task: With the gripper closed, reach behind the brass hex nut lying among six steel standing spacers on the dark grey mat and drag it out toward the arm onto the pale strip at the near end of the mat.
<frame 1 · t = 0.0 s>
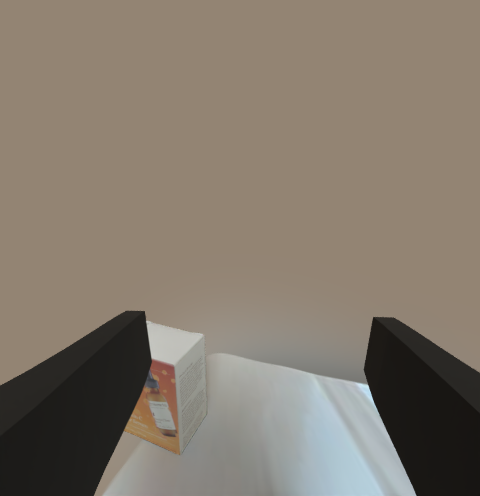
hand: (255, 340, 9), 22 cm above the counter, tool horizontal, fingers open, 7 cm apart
small box: (164, 423, 32), on the counter
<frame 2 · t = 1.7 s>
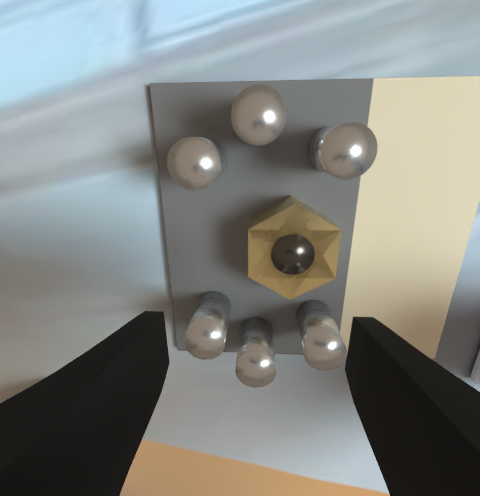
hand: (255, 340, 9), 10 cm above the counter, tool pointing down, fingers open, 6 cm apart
brass nut: (288, 240, 18), resting on spacer mat
standing spacers: (312, 240, 18), resting on spacer mat
spacer mat: (311, 238, 19), on the counter
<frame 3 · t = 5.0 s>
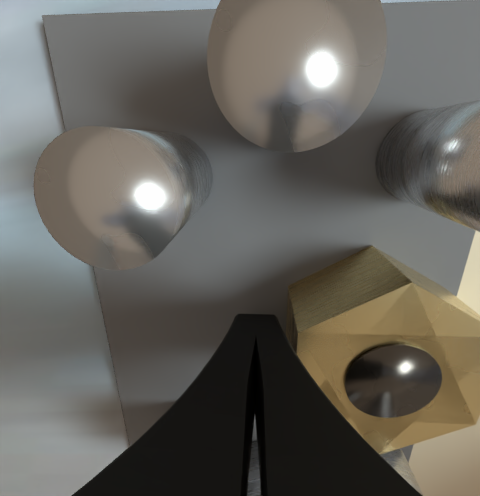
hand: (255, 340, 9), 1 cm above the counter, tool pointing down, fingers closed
brass nut: (359, 324, 10), resting on spacer mat, touching gripper
standing spacers: (371, 325, 10), resting on spacer mat
spacer mat: (367, 318, 10), on the counter
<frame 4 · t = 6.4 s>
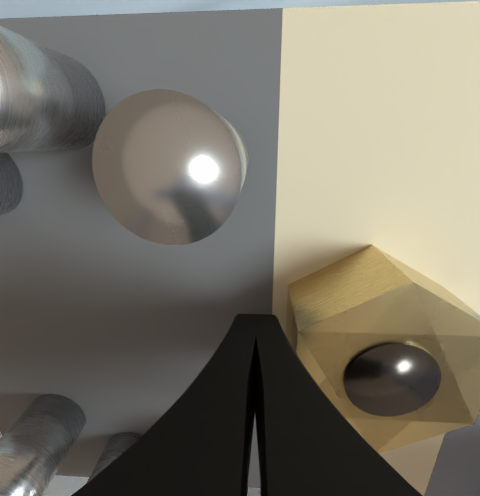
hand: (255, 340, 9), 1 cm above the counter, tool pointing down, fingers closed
brass nut: (359, 323, 10), resting on spacer mat, touching gripper
standing spacers: (201, 320, 10), resting on spacer mat
spacer mat: (203, 314, 11), on the counter
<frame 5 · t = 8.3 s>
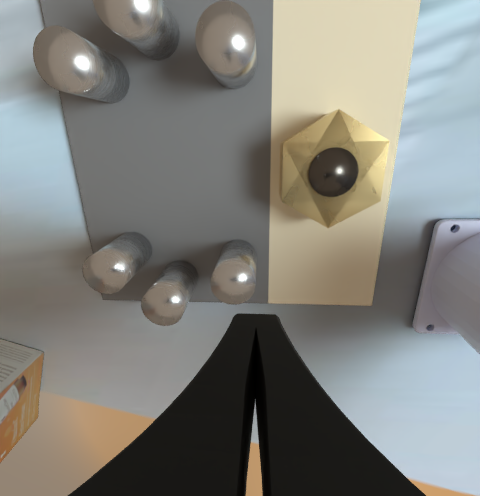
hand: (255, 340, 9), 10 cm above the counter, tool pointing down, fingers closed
small box: (13, 373, 25), on the counter
brass nut: (323, 168, 17), resting on spacer mat
standing spacers: (228, 170, 17), resting on spacer mat
spacer mat: (229, 170, 17), on the counter
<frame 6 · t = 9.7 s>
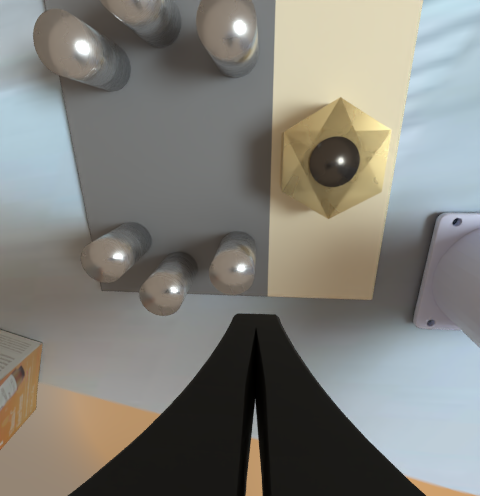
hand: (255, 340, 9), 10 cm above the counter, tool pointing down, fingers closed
small box: (12, 364, 25), on the counter
brass nut: (324, 159, 17), resting on spacer mat
standing spacers: (228, 161, 17), resting on spacer mat
spacer mat: (229, 160, 17), on the counter
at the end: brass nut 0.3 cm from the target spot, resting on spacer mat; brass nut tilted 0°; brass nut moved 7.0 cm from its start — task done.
